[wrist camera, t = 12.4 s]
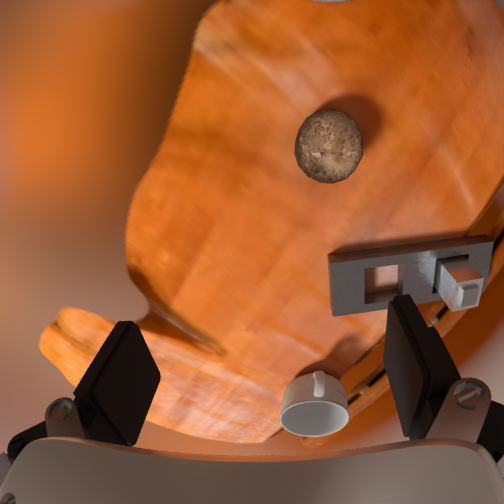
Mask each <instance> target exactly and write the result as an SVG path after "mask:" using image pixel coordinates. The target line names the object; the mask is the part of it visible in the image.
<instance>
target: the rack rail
mask: <svg viewBox="0 0 504 504" xmlns="http://www.w3.org/2000/svg"><path fill="white" fill-rule="evenodd" d="M493 243H494V241H493V240H491V239H490V238H489V237H488V236H487V235H485V234H484V235H477V236H469V237H461V238H454V239H446V240H439V241H431V242H423V243H416V244H408V245H400V246H392V247H384V248H376V249H368V250H360V251H352V252H344V253H336V254H328V268H329V284H330V301H331V310H332V315H333V316H341V315H349V314H356V313H364V312H370V311H377V310H384V309H388V303H389V301H393V298H394V296H398V295H405V294H410V295H411V297H412V299H413V301H414V302H415V304H421V303H426V302H432V301H437V300H443V298H442V297H441V295H440V294H439V292H438V291H437V289H436V288H435V287H434V285H433V283H434V275H435V265H436V259H438V258H445V257H451V256H458V255H463V256H464V257H465V258H466V259H467V260H468V261H469V262H470V263H471V264H472V265H473V266H474V268H475V269H476V270H477V271H478V272H479V273H480V274H481V275H482V276H483V277H484V280H483V285H482V290H481V292H482V291H485V289H486V284H487V279H488V274H489V268H490V262H491V256H492V250H493ZM396 264H398V282H397V289H394V290H387V291H380V292H373V293H366V294H364V292H365V269H366V268H374V267H381V266H389V265H396Z"/></svg>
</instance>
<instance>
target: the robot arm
mask: <svg viewBox="0 0 504 504" xmlns="http://www.w3.org/2000/svg"><path fill="white" fill-rule="evenodd" d="M312 1H316V2H322V3H343V2H348V1H351V0H312ZM383 360H384V366H385V369H386V373H387V376H388V379H389V383H390V386H391V390H392V393H393V397H394V400H395V404H396V408H397V411H398V415H399V419H400V423H401V426H402V431H403V434H404V437H409V439H410V440H409V441H402V442H396V443H389V444H383V445H377V446H371V447H363V448H356V449H348V450H339V451H331V452H320V453H309V454H295V455H271V456H226V455H203V454H189V453H178V452H167V451H158V450H150V449H142V448H136V447H132V446H133V445H135V444H136V442H137V439H138V437H139V434H140V431H141V429H142V426H143V424H144V421H145V418H146V416H147V413H148V410H149V408H150V405H151V403H152V400H153V398H154V395H155V392H156V390H157V387H158V385H159V382H160V378H161V376H160V372H159V369H158V367H157V365H156V363H155V361H154V359H153V357H152V355H151V353H150V351H149V349H148V346H147V344H146V342H145V340H144V338H143V335H142V333H141V331H140V329H139V327H138V325H136V324H135V323H134V322H133V321H119V322H117V324H116V325H115V327H114V328H113V330H112V331H111V333H110V334H109V336H108V337H107V339H106V341H105V342H104V344H103V345H102V347H101V348H100V350H99V352H98V353H97V355H96V356H95V358H94V359H93V361H92V363H91V364H90V366H89V368H88V369H87V371H86V372H85V374H84V376H83V377H82V379H81V381H80V382H79V384H78V386H77V387H76V389H75V391H74V392H73V394H74V395H75V399H74V400H72V399H71V398H68V397H62V398H59V399H56V400H55V401H53V402H52V403H51V404H50V405H49V406H48V407H47V409H46V412H45V421H43V422H41V423H39V424H37V425H35V426H33V427H31V428H29V429H27V430H25V431H23V432H21V433H19V434H17V435H16V436H14V437H13V438H12V440H11V441H10V442H9V444H8V448H7V452H8V453H5V452H3V453H2V454H0V504H504V405H502V404H500V403H497V402H495V401H492V400H491V392H490V389H489V387H488V386H487V385H486V384H485V383H484V382H483V381H481V380H479V379H477V378H461V377H460V374H459V372H458V370H457V368H456V366H455V364H454V362H453V360H452V358H451V356H450V354H449V352H448V350H447V348H446V346H445V345H444V343H443V341H442V339H441V337H440V335H439V333H438V331H437V330H436V328H435V327H433V326H432V327H428V326H427V325H426V323H425V321H424V319H423V317H422V315H421V313H420V312H419V310H418V308H417V306H416V304H415V302H414V301H413V299H412V297H411V295H410V294H405V295H398V296H394V298H393V301H389V303H388V314H387V326H386V337H385V347H384V356H383Z"/></svg>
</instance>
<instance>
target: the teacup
mask: <svg viewBox="0 0 504 504" xmlns="http://www.w3.org/2000/svg"><path fill="white" fill-rule="evenodd" d="M348 421H349V412H348V404H347V396H346V392H345V389H344V386H343V385H342V383H340V381H339V380H337V379H336V378H334V377H333V376H330V375H327V374H325V372H324V371H315V372H314V373H309V374H306V375H303V376H300V377H298V378H296V379H294V380H293V381H292V382H291V383H290V384H289V385H288V386H287V388H286V390H285V392H284V396H283V402H282V409H281V415H280V423H281V425H282V426H283V427H284V428H285V429H286V430H288V431H289V432H291V433H293V434H296V435H301V436H307V437H320V436H326V435H329V434H332V433H335V432H337V431H339V430H341V429H342V428H343V427H344V426H345V425H346V424H347V423H348Z"/></svg>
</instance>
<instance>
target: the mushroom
mask: <svg viewBox="0 0 504 504" xmlns="http://www.w3.org/2000/svg"><path fill="white" fill-rule="evenodd" d="M294 153H295V157H296V160H297V163H298V166H299V167H300V168H301V169H302V171H303V172H304V173H305V174H306V175H307V176H308V177H310V178H312V179H314V180H316V181H318V182H320V183H331V184H333V183H336V182H339V181H342V180H345V179H346V178H348V177H349V176H350V175H351V174H352V173H353V172H354V171H355V170H356V168H357V166H358V164H359V162H360V160H361V158H362V156H363V139H362V136H361V133H360V130H359V128H358V125H357V124H356V123H355V122H354V121H353V120H352V119H351V117H350V116H349V115H348V114H347V113H345V112H342V111H338V110H335V109H331V108H330V109H324V110H318V111H316V112H315V113H313V114H312V115H310V116H309V117H307V118H306V119H305V121H304V122H303V124H302V125H301V127H300V128H299V131H298V134H297V138H296V142H295V152H294Z"/></svg>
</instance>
